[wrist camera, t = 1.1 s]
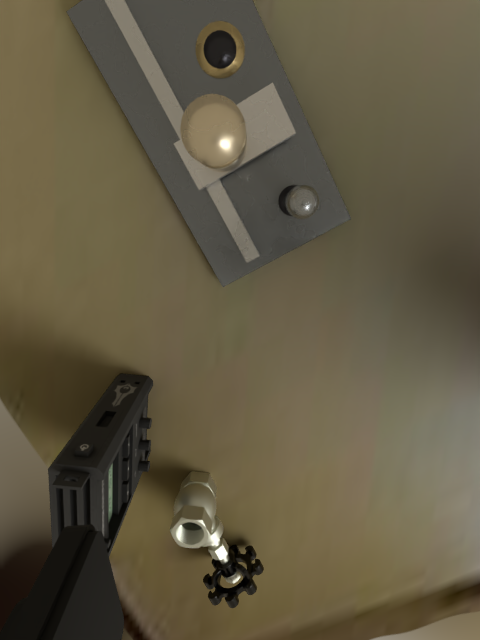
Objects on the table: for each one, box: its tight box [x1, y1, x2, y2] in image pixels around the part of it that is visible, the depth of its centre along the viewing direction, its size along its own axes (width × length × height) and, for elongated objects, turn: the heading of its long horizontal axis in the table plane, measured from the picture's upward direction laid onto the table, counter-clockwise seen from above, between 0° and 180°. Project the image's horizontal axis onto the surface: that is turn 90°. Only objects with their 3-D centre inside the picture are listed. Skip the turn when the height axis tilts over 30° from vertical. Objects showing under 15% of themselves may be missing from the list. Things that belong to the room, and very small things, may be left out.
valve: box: [170, 471, 264, 608], centre depth 41 cm, size 7×7×12 cm
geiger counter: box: [48, 374, 153, 556], centre depth 33 cm, size 10×4×15 cm, turn 174°
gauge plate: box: [67, 0, 351, 287], centre depth 28 cm, size 12×23×9 cm, turn 29°
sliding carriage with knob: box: [174, 83, 296, 190], centre depth 26 cm, size 8×4×9 cm, turn 119°
